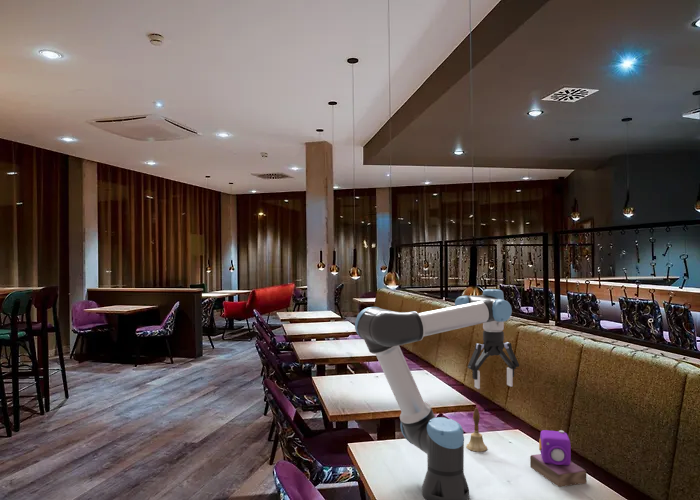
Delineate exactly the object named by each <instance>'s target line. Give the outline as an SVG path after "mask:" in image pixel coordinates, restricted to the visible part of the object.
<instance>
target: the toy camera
mask: <svg viewBox="0 0 700 500" xmlns="http://www.w3.org/2000/svg"><path fill="white" fill-rule="evenodd" d="M538 442H539V443H538V449H539V452H540V454H541V456H542V460H543V462H545V463H548V464H556V465H570V462H572V460H571V459H572V457H571V455H572V453H571V452H572V451H571V449H572V447H571V439H570V438H569V435H568V433H567V432H565V431H564V430H562V429H560V430H558V431H556V430H546V429H543V430H540V435H539V439H538Z"/></svg>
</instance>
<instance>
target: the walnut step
mask: <svg viewBox="0 0 700 500" xmlns="http://www.w3.org/2000/svg"><path fill="white" fill-rule="evenodd" d="M529 457H530V460H529V461H530V464H529V465H530V468H531V469H532V470H534V471H536V472H537V473H539V474H540V475H541V476H542V477H544V478H545V479H546V480H548V481H549V482H551V483H552V484H554V485H555V486H557V487H558V488H560V487H567V486H568V487H569V486H576V485H582V484H587V471H586V469H585V468H583V467H581V466H579V465H577V464H576V463H574V462H573V461H571V462H570V465H556V464H548V463H545V462H543V460H542V456H541V453H538V454H531V455H530V456H529Z"/></svg>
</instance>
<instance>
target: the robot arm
mask: <svg viewBox="0 0 700 500" xmlns="http://www.w3.org/2000/svg"><path fill="white" fill-rule="evenodd" d="M504 296H505V295H504V291H503V290H501V289H496V288H492V289H491V288H485V289H483V291H482V294H481V295H466V294H465V295H461V296H458V297H457V298H456V299H455V301H454V306H453V305H452V306H449V307H443V308H439V309H434V310H427V311H423V312H417V311H415V310H412V311H407V312H406V311H401V312H400V311H394V310H390V309H384V308H380V307H378V306H370V307H366V308H365V307H364V309H362V310H361V311H360V312H358V314H357V316H356V319H355V322H354V330H355V332H356V334H357V335H358V337H360V339H362V340H363V341H364V342H365V345H366V347H367V349H368V351H369V353H370V354H371V355H375V356H376V358H377V360H378V362H379V365H380V367H381V370H382V371H383V374H384V376H385V378H386V381H387V383H388V385H389V387H390V389H391V391H392V393H393V394H392V395H393V396H394V398H395V401H396V403H397V404H398V407H399V410H400V411H401V413H400V415H399V419H400V431H401V434H402V435H403V437H404V439H405V440H406V441H407V442H409V443H410V444H411V445H413V446H414V447H416V448H418V449H419V450H421V451H422V452H423V453H425V454H426V455H427V458H426V459H427V470H426V473H425V476H424V479H423V482H422V486H421V494H422V497H423V498H424V499H425V500H470V488H469V485H468V482H467V479H466V476H465V473H464V470H465V469H464V468H465V467H464V463H465V462H464V459H465V457H464V455H465V453H464V448H465V445H464V443H465V436H464V435H465V434H464V429H463V427H462V425H461V424H460V423H459V422H458V421H456V420H454V419H452V418H447V417H443V416H442V417H441V416H440V417H436V415H435V413H434V412H433V411H434V410H433V408H432V407H431V405H430V404H429V403H428V402H426V401H424V400H423V396H422V395H421V392H420V390H419V387H418V386H417V384H416V381H415V379H414V376H413V374H412V373H411V370H410V367H409V366H408V362H407V361H406V358H405V356H404V354H403V351H402V349H401V347H400V346H404V345H407V344H411V343H415V342H419V341H422V340H423V338H424V337H427V336H431V335H436V334H441V333H445V332H449V331H454V330H459V329H462V328H463V329H464V328H468V327H471V326H475V325H481V324H482V329H483V332H482V340H483V341H482V344H481V343H477V342H476V343H475V346H474V351H473V353H472V356H471V358H470V359H469V362H468V364H467V369H468V370H471V371H472V379H473V380H474V388H476V389H477V390H480V389H481V373H480V372H481V371H480V368H481V367H482V365H483V364H484V362H486V360H487V358H489V357H490V356H499V357H501V359H502V360H503V362H505V364H506V365H507V367H506V386H508V387H510V388H511V387H513V382H514V381H513V380H514V379H513V378H514V377H515V370H516V369H517V368H518V367H519V366H520V364H519V361H518V360H517V356H516V355H515V353H514V350H513V349H512V343H511V342H508V341H505V342H504V340H505V332H504V331H503V330H504V329H505V328H504V326H505V325H504V323H505V322H507V321H508V320H510V318H511V316H512V312H513V310H512V305H511V304H510V302H509V301H507V300H505V297H504ZM504 348H505V350H506V352H507V354H508V356H507V354H506V353H505V351H504V350H503V349H504ZM482 350H483V351H482Z"/></svg>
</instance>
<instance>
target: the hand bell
mask: <svg viewBox="0 0 700 500" xmlns="http://www.w3.org/2000/svg"><path fill="white" fill-rule="evenodd" d="M472 418H473V422H474V423H473V424H474V430H473V431H474V432H472V433H470V438H469V442H468V443H467V444H466V446H465V447H466V449H467V450H468V451H472V452H476V453H479V452H480V453H481V452H482V453H483V452H486V451H487V450H488V447H487V445H486V444H485V443H484V438H483V434H481V433H480V431H479V430H480V429H479V423H480V418H481V417H480V410H479V408H478V407H475V408H474V410H473V415H472Z"/></svg>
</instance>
